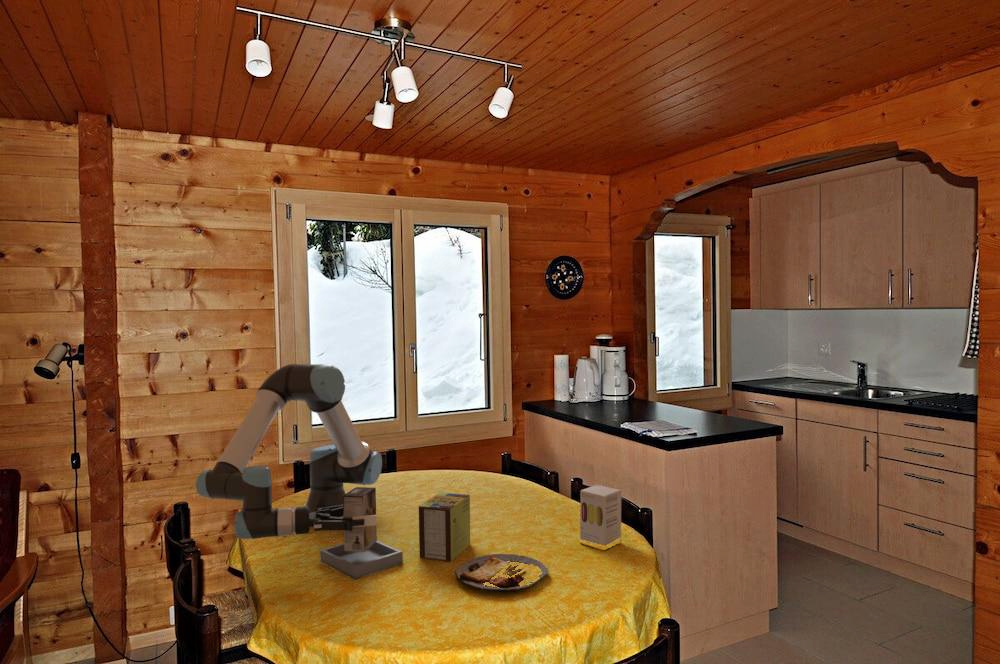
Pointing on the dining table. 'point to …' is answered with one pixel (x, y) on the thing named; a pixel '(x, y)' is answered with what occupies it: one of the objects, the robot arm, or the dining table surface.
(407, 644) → the dining table surface
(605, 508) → the supplement box
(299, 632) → the dining table surface
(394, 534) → the dining table surface
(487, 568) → the food plate
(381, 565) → the tray
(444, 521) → the protein box
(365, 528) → the coffee box
